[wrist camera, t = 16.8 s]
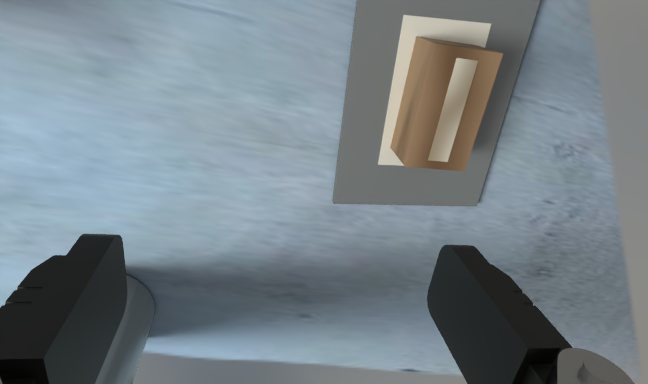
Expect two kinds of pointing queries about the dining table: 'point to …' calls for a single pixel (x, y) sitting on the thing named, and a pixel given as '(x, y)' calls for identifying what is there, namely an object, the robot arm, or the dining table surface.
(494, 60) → the card box
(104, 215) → the dining table surface
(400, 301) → the dining table surface
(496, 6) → the mat
